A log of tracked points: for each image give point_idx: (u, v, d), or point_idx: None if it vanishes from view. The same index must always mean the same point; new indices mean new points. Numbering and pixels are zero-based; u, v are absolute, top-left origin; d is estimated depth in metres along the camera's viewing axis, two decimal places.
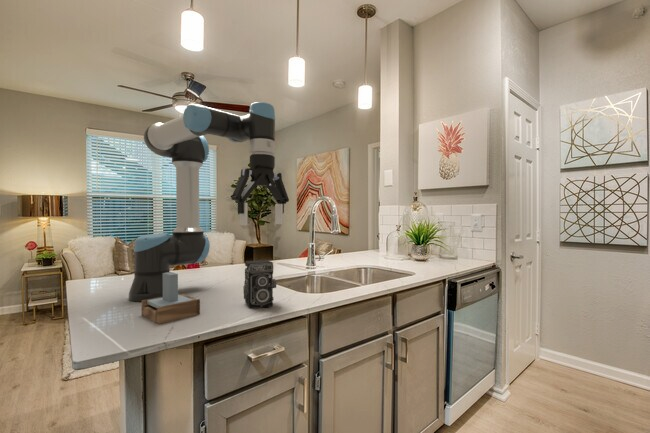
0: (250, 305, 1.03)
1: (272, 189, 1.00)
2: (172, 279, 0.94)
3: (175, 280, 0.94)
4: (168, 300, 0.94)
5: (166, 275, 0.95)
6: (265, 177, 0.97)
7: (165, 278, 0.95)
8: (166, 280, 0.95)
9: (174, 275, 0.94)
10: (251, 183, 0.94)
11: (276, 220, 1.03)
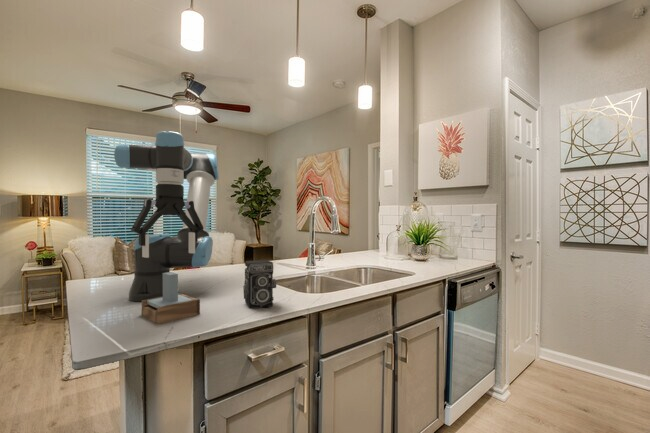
0: (250, 305, 1.03)
1: (182, 218, 0.98)
2: (172, 279, 0.94)
3: (175, 280, 0.94)
4: (168, 300, 0.94)
5: (166, 275, 0.95)
6: (172, 207, 0.95)
7: (165, 278, 0.95)
8: (166, 280, 0.95)
9: (174, 275, 0.94)
10: (155, 214, 0.92)
11: (189, 249, 1.01)
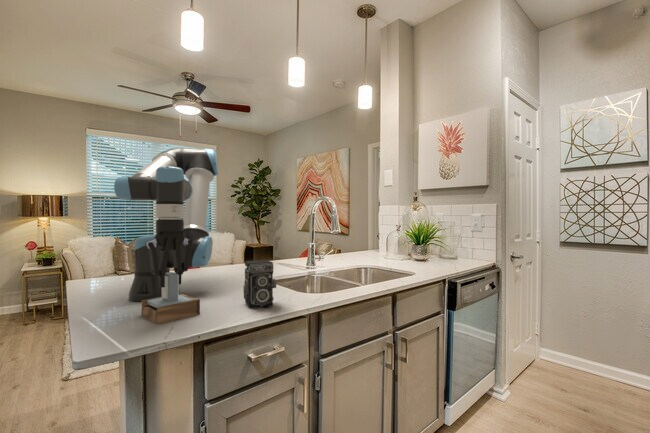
0: (250, 305, 1.03)
1: (174, 254, 0.96)
2: (172, 279, 0.94)
3: (175, 280, 0.94)
4: (168, 300, 0.94)
5: (166, 275, 0.95)
6: (172, 239, 0.95)
7: None
8: None
9: (174, 275, 0.94)
10: (162, 253, 0.94)
11: None
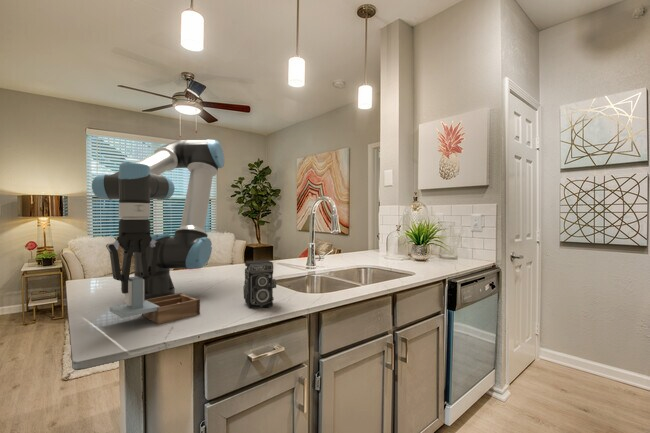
0: (250, 305, 1.03)
1: (140, 258, 0.89)
2: (136, 284, 0.86)
3: (140, 285, 0.87)
4: (132, 307, 0.86)
5: (130, 280, 0.87)
6: (137, 241, 0.88)
7: None
8: None
9: (139, 280, 0.87)
10: (125, 256, 0.86)
11: None
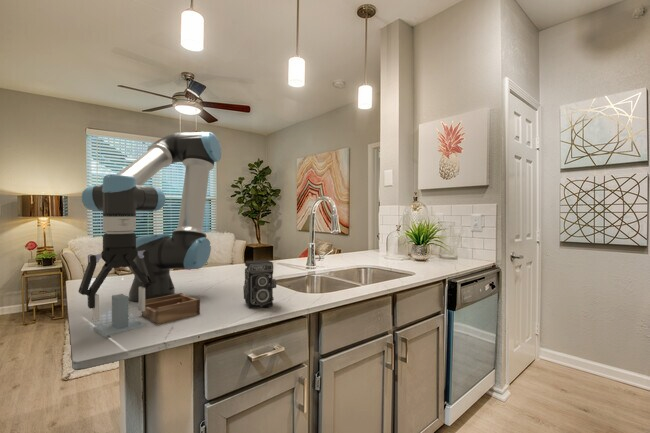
0: (250, 305, 1.03)
1: (133, 270, 0.88)
2: (121, 303, 0.84)
3: (125, 304, 0.84)
4: (117, 326, 0.84)
5: (115, 298, 0.84)
6: (122, 257, 0.85)
7: (114, 301, 0.85)
8: (115, 303, 0.84)
9: (124, 298, 0.84)
10: (103, 269, 0.82)
11: (139, 306, 0.90)
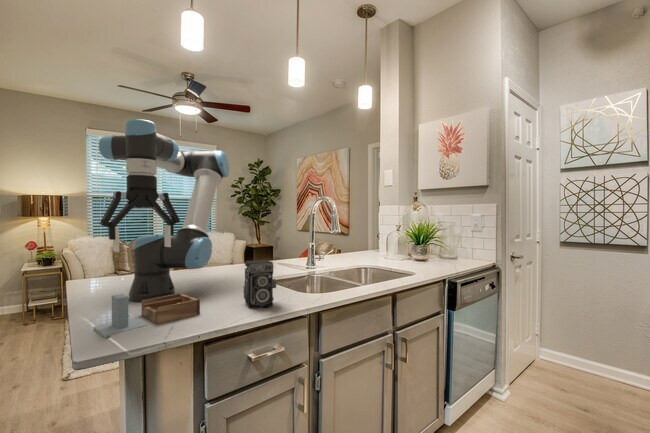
0: (250, 305, 1.03)
1: (156, 210, 0.94)
2: (121, 303, 0.84)
3: (125, 304, 0.84)
4: (117, 326, 0.84)
5: (115, 298, 0.84)
6: (145, 199, 0.91)
7: (114, 301, 0.85)
8: (115, 303, 0.84)
9: (124, 298, 0.84)
10: (126, 206, 0.88)
11: (165, 242, 0.97)
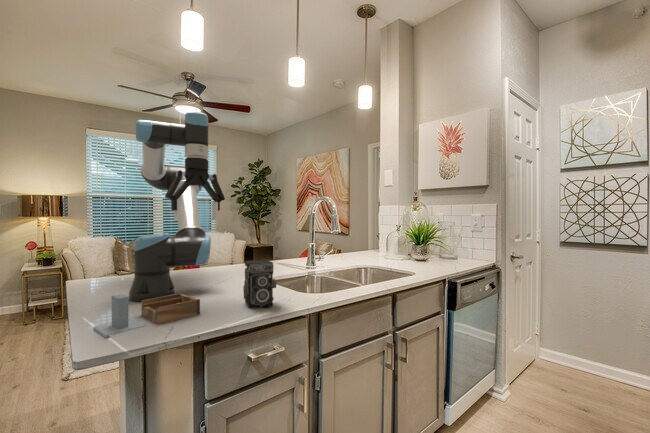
0: (250, 305, 1.03)
1: (207, 189, 1.12)
2: (121, 303, 0.84)
3: (125, 304, 0.84)
4: (117, 326, 0.84)
5: (115, 298, 0.84)
6: (199, 178, 1.09)
7: (114, 301, 0.85)
8: (115, 303, 0.84)
9: (124, 298, 0.84)
10: (185, 183, 1.06)
11: (212, 216, 1.15)
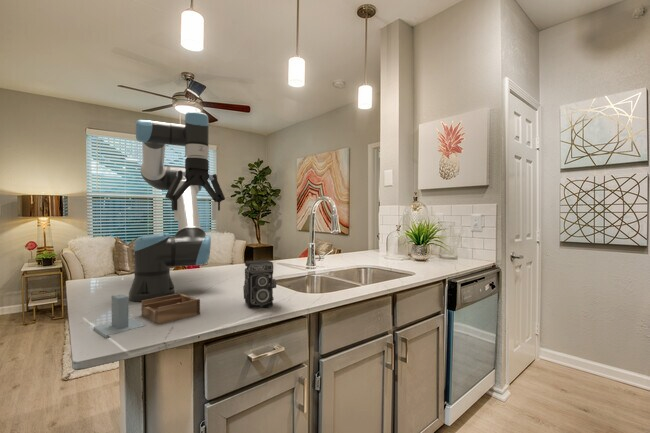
0: (250, 305, 1.03)
1: (207, 189, 1.12)
2: (121, 303, 0.84)
3: (125, 304, 0.84)
4: (117, 326, 0.84)
5: (115, 298, 0.84)
6: (199, 178, 1.09)
7: (114, 301, 0.85)
8: (115, 303, 0.84)
9: (124, 298, 0.84)
10: (185, 183, 1.06)
11: (213, 216, 1.15)
